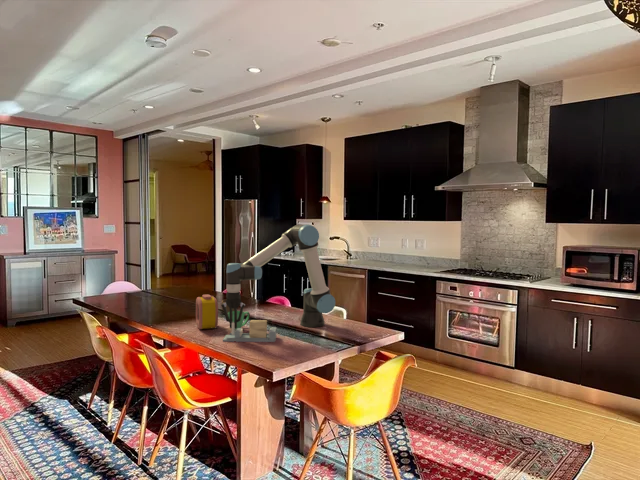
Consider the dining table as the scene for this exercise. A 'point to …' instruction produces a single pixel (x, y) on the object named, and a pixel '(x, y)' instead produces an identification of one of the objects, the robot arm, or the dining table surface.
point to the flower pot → (226, 306)
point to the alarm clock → (206, 312)
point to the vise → (245, 338)
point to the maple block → (258, 329)
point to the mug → (239, 324)
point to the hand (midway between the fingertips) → (233, 334)
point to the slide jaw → (238, 332)
